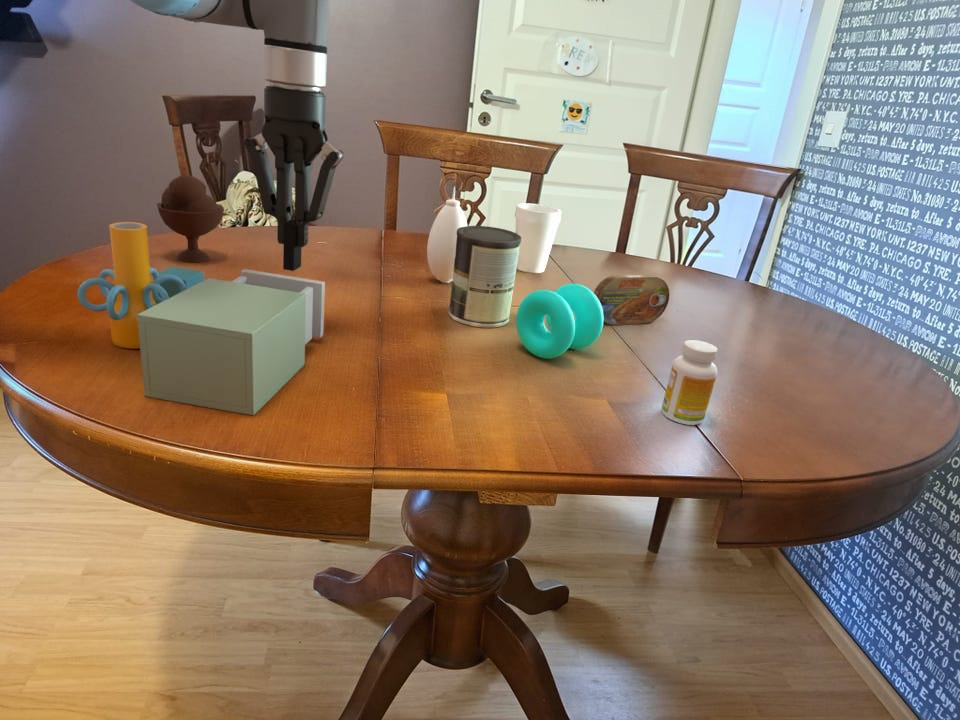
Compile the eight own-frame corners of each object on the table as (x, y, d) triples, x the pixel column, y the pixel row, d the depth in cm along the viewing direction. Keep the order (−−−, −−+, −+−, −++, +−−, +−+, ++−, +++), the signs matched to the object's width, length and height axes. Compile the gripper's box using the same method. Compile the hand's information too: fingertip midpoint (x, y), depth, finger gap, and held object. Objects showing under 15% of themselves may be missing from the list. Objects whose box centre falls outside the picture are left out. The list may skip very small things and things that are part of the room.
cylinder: (87, 362, 78) (71, 238, 73) (80, 330, 86) (66, 216, 80) (197, 351, 85) (190, 236, 79) (181, 322, 93) (175, 216, 87)
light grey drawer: (264, 308, 99) (264, 258, 96) (338, 320, 98) (340, 270, 95) (194, 357, 81) (191, 297, 78) (284, 373, 80) (284, 312, 77)
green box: (211, 348, 86) (208, 277, 82) (304, 364, 85) (306, 293, 81) (144, 396, 73) (136, 314, 69) (253, 415, 72) (252, 333, 68)
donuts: (600, 356, 100) (613, 293, 96) (559, 370, 93) (572, 303, 89) (549, 334, 106) (559, 274, 102) (507, 346, 99) (517, 282, 95)
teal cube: (155, 307, 97) (152, 274, 95) (174, 298, 101) (172, 266, 99) (187, 313, 96) (185, 280, 94) (205, 303, 101) (203, 271, 99)
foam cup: (514, 273, 137) (523, 211, 132) (502, 261, 145) (510, 201, 140) (557, 276, 140) (567, 214, 134) (543, 263, 148) (552, 205, 143)
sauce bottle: (468, 279, 129) (479, 185, 122) (460, 290, 122) (471, 191, 115) (430, 272, 130) (438, 179, 123) (419, 283, 123) (428, 185, 116)
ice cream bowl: (236, 262, 121) (234, 179, 116) (175, 269, 114) (169, 180, 108) (209, 248, 128) (205, 168, 122) (149, 253, 120) (142, 169, 114)
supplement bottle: (712, 421, 84) (732, 351, 80) (685, 429, 81) (705, 357, 77) (678, 402, 88) (696, 335, 84) (652, 410, 85) (669, 340, 81)
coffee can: (435, 316, 108) (444, 230, 102) (468, 302, 116) (477, 222, 111) (490, 333, 104) (502, 244, 98) (520, 317, 112) (532, 235, 106)
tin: (595, 326, 113) (604, 278, 109) (585, 319, 115) (594, 273, 112) (664, 323, 119) (675, 277, 116) (653, 316, 121) (664, 272, 118)
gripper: (354, 94, 86) (345, 268, 96) (259, 80, 87) (259, 254, 97) (335, 94, 80) (327, 282, 89) (231, 79, 81) (235, 267, 90)
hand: (292, 267), depth 93 cm, fingers closed
